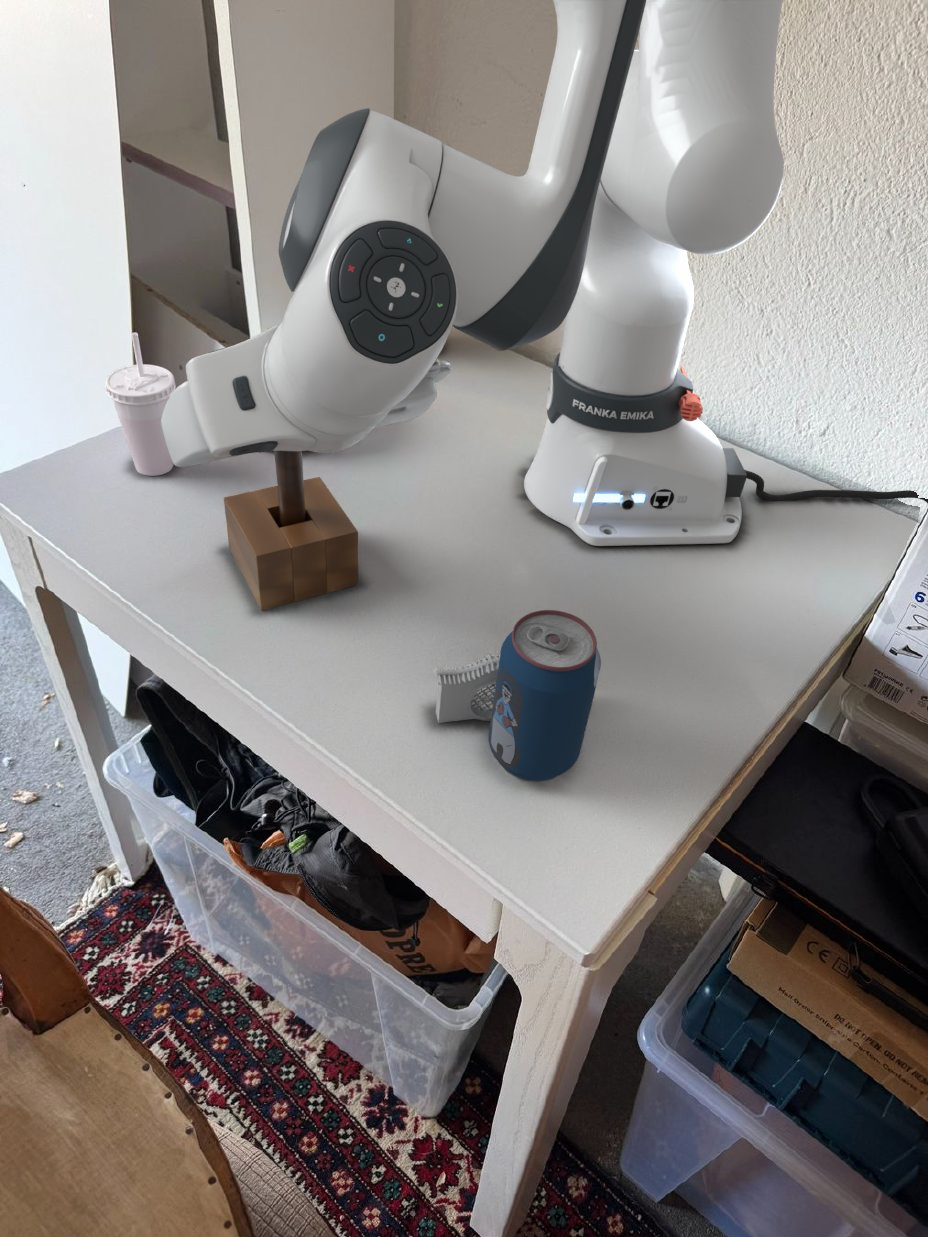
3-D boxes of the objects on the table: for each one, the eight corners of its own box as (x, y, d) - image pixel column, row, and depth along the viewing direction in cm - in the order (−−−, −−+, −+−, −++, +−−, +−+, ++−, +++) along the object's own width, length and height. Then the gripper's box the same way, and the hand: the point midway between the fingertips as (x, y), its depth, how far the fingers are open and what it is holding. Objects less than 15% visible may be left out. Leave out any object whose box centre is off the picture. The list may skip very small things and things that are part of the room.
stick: (310, 555, 85) (297, 327, 70) (305, 570, 83) (291, 339, 68) (286, 553, 85) (268, 324, 70) (281, 568, 83) (261, 337, 68)
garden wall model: (575, 694, 75) (588, 642, 71) (582, 711, 74) (595, 658, 70) (430, 711, 72) (434, 657, 69) (435, 728, 71) (439, 674, 67)
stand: (321, 529, 89) (319, 476, 85) (358, 584, 83) (358, 531, 79) (229, 551, 85) (223, 497, 81) (261, 611, 80) (256, 556, 76)
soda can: (589, 738, 72) (619, 624, 64) (559, 803, 67) (587, 688, 59) (507, 706, 73) (525, 591, 65) (472, 767, 69) (487, 651, 61)
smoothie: (195, 452, 97) (178, 325, 87) (175, 486, 92) (154, 356, 83) (135, 445, 97) (111, 317, 88) (111, 479, 92) (83, 347, 83)
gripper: (447, 316, 67) (389, 378, 80) (162, 362, 59) (148, 423, 72) (471, 400, 67) (410, 449, 80) (190, 458, 59) (172, 501, 72)
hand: (284, 437), depth 76 cm, fingers closed on stick, 2 cm apart
